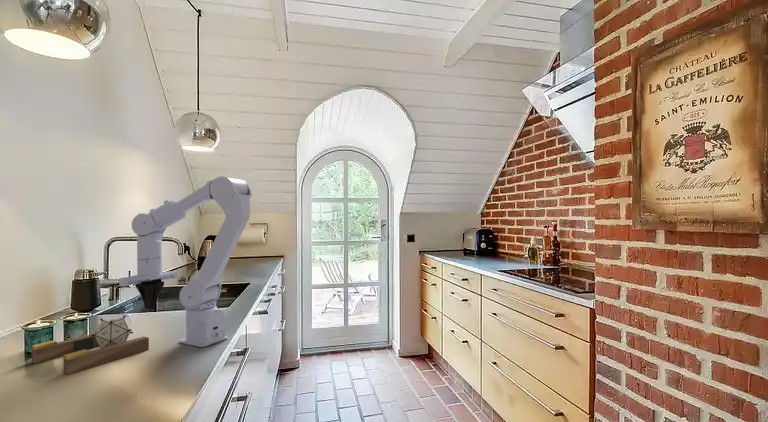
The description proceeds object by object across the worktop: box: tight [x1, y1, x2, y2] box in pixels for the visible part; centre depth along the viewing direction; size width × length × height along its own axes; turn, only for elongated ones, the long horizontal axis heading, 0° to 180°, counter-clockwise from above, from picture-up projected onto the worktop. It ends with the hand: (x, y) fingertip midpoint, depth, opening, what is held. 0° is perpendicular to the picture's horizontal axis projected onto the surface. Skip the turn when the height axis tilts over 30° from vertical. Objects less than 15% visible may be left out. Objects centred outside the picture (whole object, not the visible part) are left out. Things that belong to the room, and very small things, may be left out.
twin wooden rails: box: [31, 332, 150, 375], centre depth 94 cm, size 16×17×4 cm
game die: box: [89, 315, 134, 349], centre depth 98 cm, size 9×8×10 cm
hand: (150, 308), depth 107 cm, fingers closed
